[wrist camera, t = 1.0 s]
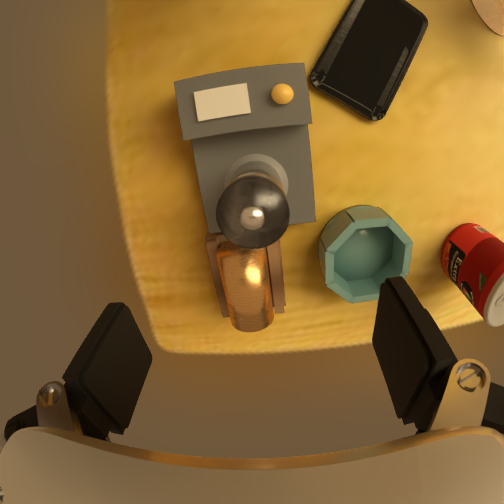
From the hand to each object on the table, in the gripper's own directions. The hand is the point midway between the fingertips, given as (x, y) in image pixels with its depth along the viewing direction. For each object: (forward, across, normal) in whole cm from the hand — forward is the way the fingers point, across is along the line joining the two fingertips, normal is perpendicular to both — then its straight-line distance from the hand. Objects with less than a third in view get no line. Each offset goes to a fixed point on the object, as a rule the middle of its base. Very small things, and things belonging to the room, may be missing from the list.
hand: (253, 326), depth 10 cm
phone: (+20, -13, -14) cm, 27 cm away
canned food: (+19, -25, +9) cm, 32 cm away
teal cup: (+19, -10, +7) cm, 22 cm away
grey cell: (+17, 0, -1) cm, 17 cm away
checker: (+19, 0, -4) cm, 19 cm away
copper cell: (+17, +2, +8) cm, 19 cm away
